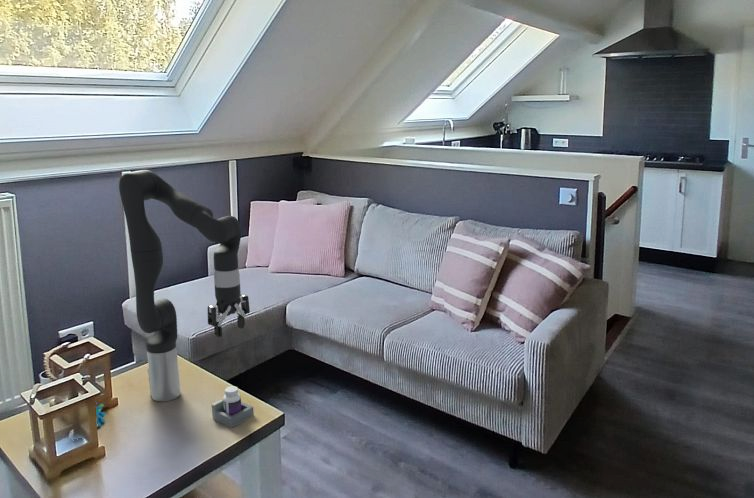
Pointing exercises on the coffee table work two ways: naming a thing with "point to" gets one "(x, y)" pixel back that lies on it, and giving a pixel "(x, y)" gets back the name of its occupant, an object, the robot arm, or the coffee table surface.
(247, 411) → the dock
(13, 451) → the coffee table surface
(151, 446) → the coffee table surface
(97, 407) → the blue lumpy piece
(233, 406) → the pill bottle
